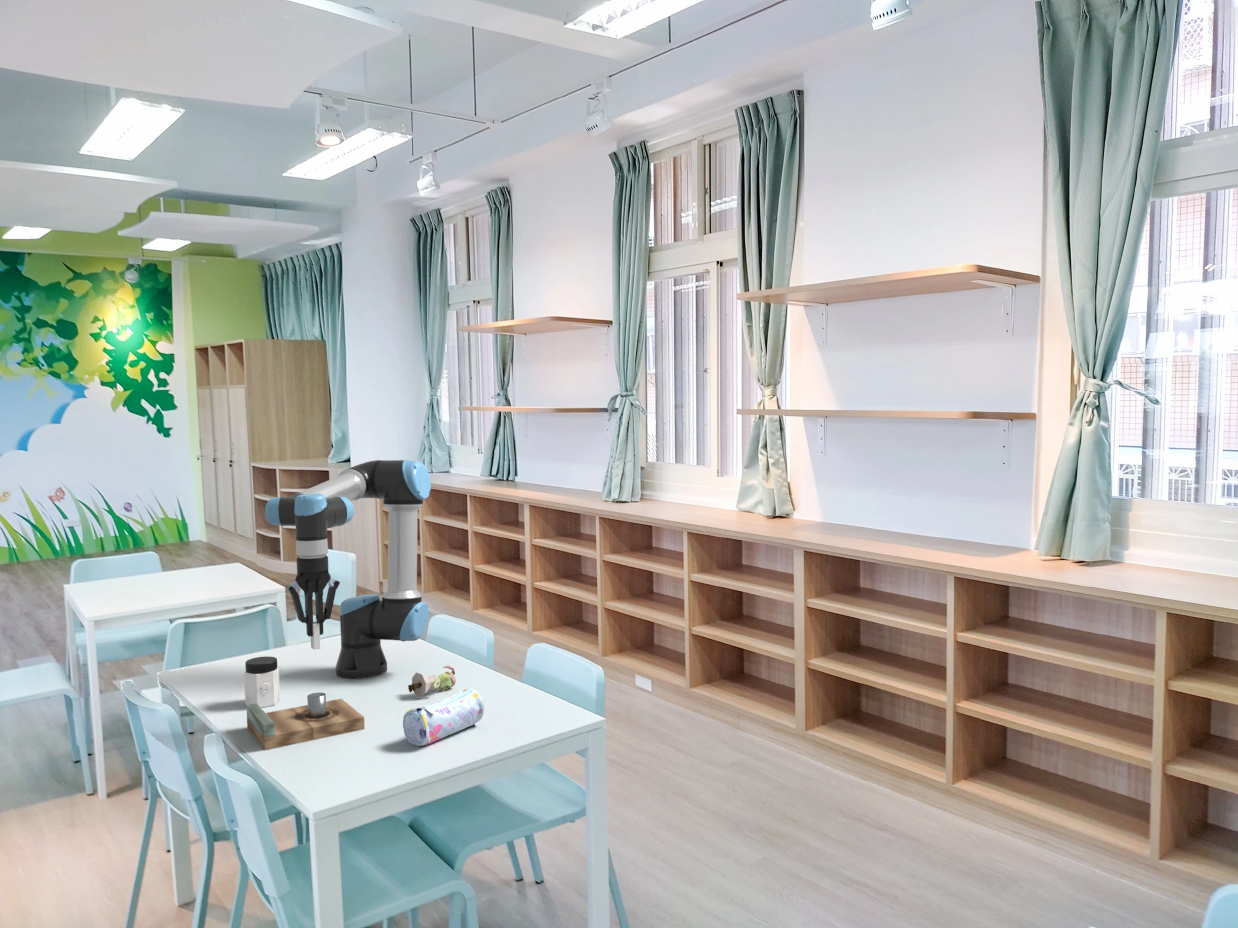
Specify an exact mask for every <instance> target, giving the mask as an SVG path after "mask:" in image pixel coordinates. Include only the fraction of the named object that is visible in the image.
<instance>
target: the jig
mask: <svg viewBox="0 0 1238 928" xmlns="http://www.w3.org/2000/svg"><path fill="white" fill-rule="evenodd" d="M246 728H247V731H249V732H250V733H251V734H252V736H253V738H254V739H256V741H257V742H258V743H259V745H260V746H261V747H262V748H263V750H264V751H267V750H272V749H276V748H282V747H286V746H290V745H295V744H302V743H304V742H309V741H314V740H318V739H323V738H328V737H333V736H336V735H337V736H338V735H341V734H346V733H352V732H356V731H357V732H358V731H361V730H365V716H363V715H362V714H361V713H360V712H358V711H357V710H356V709H355V708H354V707H353V706H351V705H350V704H349V703H347V702H346V701H345V700H344V699H343V698H337V699H332V700H326V717H323V718H318V719H309V718H308V704H306V705H302V706H301V705H300V706H297V707H290V708H285V709H279V710H274V711H270V712H265V710H263V708H260V707H259V705H258V704H257V703H255V704H249V705H247V706H246Z"/></svg>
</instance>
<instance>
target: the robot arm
mask: <svg viewBox="0 0 1238 928" xmlns="http://www.w3.org/2000/svg"><path fill="white" fill-rule="evenodd" d="M431 481H432V480H431V476H430V473H429V470H428V468H427V466H426V465H425V464H424V463H422V462H421V461H419V460H410V459H405V460H401V459H400V460H396V459H395V460H394V459H393V460H386V459H385V460H384V459H383V460H381V459H380V460H379V459H376V460H375V459H374V460H369V461H365V462H362V463H359V464H357V465H354V466H351V467H349V468H346V469H344V470H342V471H341V472H340V473H338V476H336V477H334V478H331V479H328V480H326V481H324V482H321V483H319V484H316V485H314V486H312V487H310V488H307V489H304V490H301V491H299V492H297V493H295V494H292V495H289V496H277V497H276V496H275V497H271V498H270V499H268V501H267V502H266V505H265V508H264V514H265V519H266V520H267V522H268V524H270V525H272V526H280V527H295V542H296V543H295V545H296V547H295V549H296V550H295V551H296V556H298V557H296V576H295V578H294V580H295V581H293V582H292V584H290V585H289V584H288V585H286V586H285V587H286V590H287V591H288V593H289V594H290V596H291V599H292V602H293V607H294V609H295V613H296V616H297V620H298V621H299V622H300V623H303V624H305V625H306V636H308V637H310V648H311V649H312V650H314V651H315V650H320V649H321V639H320V637H321V636H322V635H323V634H324V623H325V621H327V620H329V619H331V616H332V611H333V608H334V603H335V597H336V591H337V589H338V587H339V586H340V581H339V580H337V579H334V578H332V576H331V574H330V573H329V556H327V554H328V553H329V546H328V545H329V543H328V529H331V528H335V527H342V526H344V525H345V524H348V523H349V522H350V521H352V519H353V517H354V515H355V506H354V505H353V503H352V502H354V501H358V500H360V499H381V500H382V499H383V500H382V501H383V503H382V504H383V506H384V507H385V508H386V510H387V512H388V514H387V516H388V518H387V519H388V521H387V522H388V523H387V525H388V526H387V528H388V529H387V584H386V585H387V589H386V591H385V593H383V594H382V596H381V598H380V595H379V594H377V593H373V594H372V593H369V594H363V595H357V596H353V597H348V598H346V599H344V600H343V601H341V603H340V606H339V621H340V623H339V625H340V628H339V629H340V645H341V646H340V650H339V654H338V659H337V661H336V665H335V675H336V676H337V677H339V678H342V679H343V678H344V679H350V680H351V679H352V680H353V679H355V680H357V679H367V678H373V677H377V676H380V675H382V674H384V673H386V672H387V671H388V662H387V658H386V656H385V652H384V650H383V648H382V643H381V641H382V640H383V641H401V642H403V643H404V642H415V641H417V640H420V638H422V636H423V635H424V633H425V631H426V629H427V627H428V625H429V619H430V609H429V606H428V604H427V603H426V602H424V601H422V600H423V599H422V594H421V593H420V592H419V591H418V590H417V585H418V583H417V581H418V579H417V577H418V575H417V574H418V572H417V571H418V518H419V517H418V514H419V513H418V511H419V509H421V508H422V507H423V505H424V500H425V499H427V498H429V496H430V492H431V489H432V486H431V484H432V483H431ZM327 585H328V589H327V594H326V599H325V602H324V597H323V596H324V590H325V588H326V587H327ZM299 588H300V589H301V590H302V591H303V596H304V609H305V611H304V610H303V605H302V602H301V598H300V595H299V593H298V591H299ZM313 597H314V599H315V601H314V600H313ZM380 599H381V600H380ZM313 601H314V602H313ZM313 603H315V621H314V609H313V608H314V607H313ZM324 603H325V604H324Z"/></svg>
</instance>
